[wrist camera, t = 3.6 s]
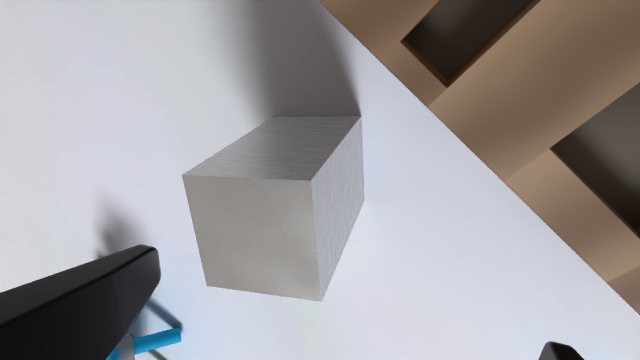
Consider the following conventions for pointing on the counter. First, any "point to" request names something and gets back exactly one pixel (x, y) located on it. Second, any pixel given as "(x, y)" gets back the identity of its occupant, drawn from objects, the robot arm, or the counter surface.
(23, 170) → the counter surface
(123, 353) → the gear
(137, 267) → the robot arm
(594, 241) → the socket block
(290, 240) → the square bit
